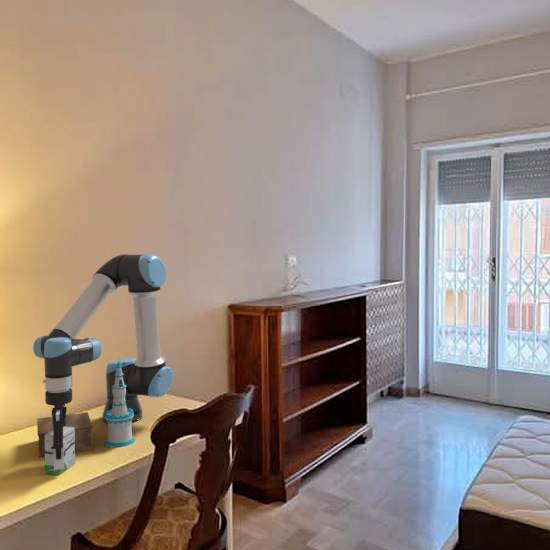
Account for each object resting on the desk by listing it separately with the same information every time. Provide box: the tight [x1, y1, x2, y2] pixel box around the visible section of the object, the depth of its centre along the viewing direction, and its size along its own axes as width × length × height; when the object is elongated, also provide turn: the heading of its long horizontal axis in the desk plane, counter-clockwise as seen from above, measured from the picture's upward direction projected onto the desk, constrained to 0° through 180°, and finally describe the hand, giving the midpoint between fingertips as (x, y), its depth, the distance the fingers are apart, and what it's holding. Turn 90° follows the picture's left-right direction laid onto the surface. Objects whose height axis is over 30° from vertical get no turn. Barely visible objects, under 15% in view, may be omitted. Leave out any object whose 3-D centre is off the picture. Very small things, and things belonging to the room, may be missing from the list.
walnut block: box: [36, 411, 93, 458], centre depth 176 cm, size 17×17×8 cm
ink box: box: [44, 426, 76, 476], centre depth 157 cm, size 9×5×12 cm, turn 168°
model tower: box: [104, 356, 136, 448], centre depth 178 cm, size 10×10×30 cm
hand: (60, 461), depth 157 cm, fingers closed on ink box, 9 cm apart
